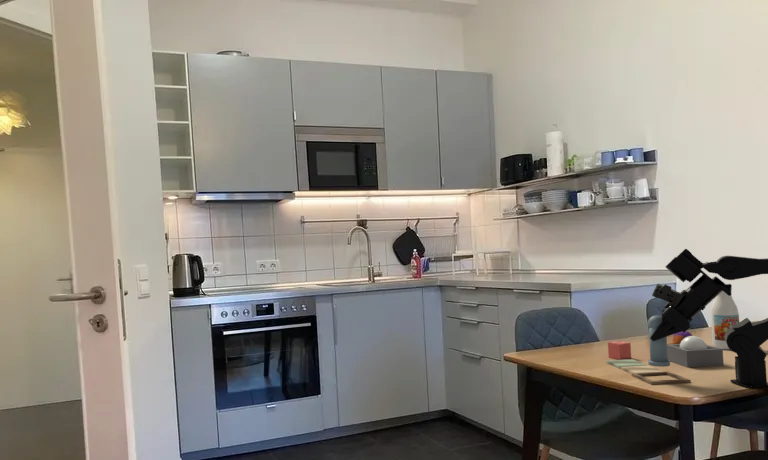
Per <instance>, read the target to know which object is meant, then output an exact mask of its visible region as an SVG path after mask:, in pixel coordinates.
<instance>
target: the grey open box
mask: <svg viewBox="0 0 768 460" xmlns="http://www.w3.org/2000/svg"><path fill="white" fill-rule="evenodd" d="M668 344H669V343H668ZM706 345H707V349H697V350H687V349H683V348H680V344H669V345H667V357H668V360H669V361H670V363H673V364H677V365H679V366H683V367H686V368H698V367H699V368H700V367H716V366H717V367H718V366H725V365H724V349H721V348H717V347H713V345H709V344H706Z"/></svg>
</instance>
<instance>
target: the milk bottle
mask: <svg viewBox="0 0 768 460" xmlns="http://www.w3.org/2000/svg"><path fill="white" fill-rule="evenodd" d="M732 290H733V288H732V287H731V293H732V292H733V291H732ZM710 314H711V315H710V318H711V320H710V322H711V339H712V346H713V347H717V348H721V349H723V350H730V349H729V347H728V346H727V344H726V341H725V333H726V331H727V330H728V329H729V328H731V327H732V326H731V324H737V323H739V322H740V315H739V314H740V313H739V310H738V306H737V304H736V302H735V301H734V299H733V296H732V295H731V296H729V295H727V294H726V293H725V292H724V291H722V292H721V293H720V294H719V295H717V296H716V297H715V298H714V301H713V303H712V306H711V310H710Z"/></svg>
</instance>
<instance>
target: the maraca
mask: <svg viewBox="0 0 768 460" xmlns="http://www.w3.org/2000/svg"><path fill="white" fill-rule="evenodd" d="M688 336H693V334H692V333H691V332H690V331H688V330H686V331H685V332H679V333H676V334H673V337H672V342H671V343H667V345H669V344H680V343H681V341H682V340H683V339H684V338H686V337H688Z"/></svg>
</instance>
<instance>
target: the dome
mask: <svg viewBox="0 0 768 460" xmlns="http://www.w3.org/2000/svg"><path fill="white" fill-rule="evenodd" d="M707 345H708V344H707V343H706V342H705V341H704V340H703V339H702V338H700V337H698V336H696V335H692V336H688V337H686V338H684V339H683V340H682V341H681V343H680V348H683V349H687V350H697V349H707Z"/></svg>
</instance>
